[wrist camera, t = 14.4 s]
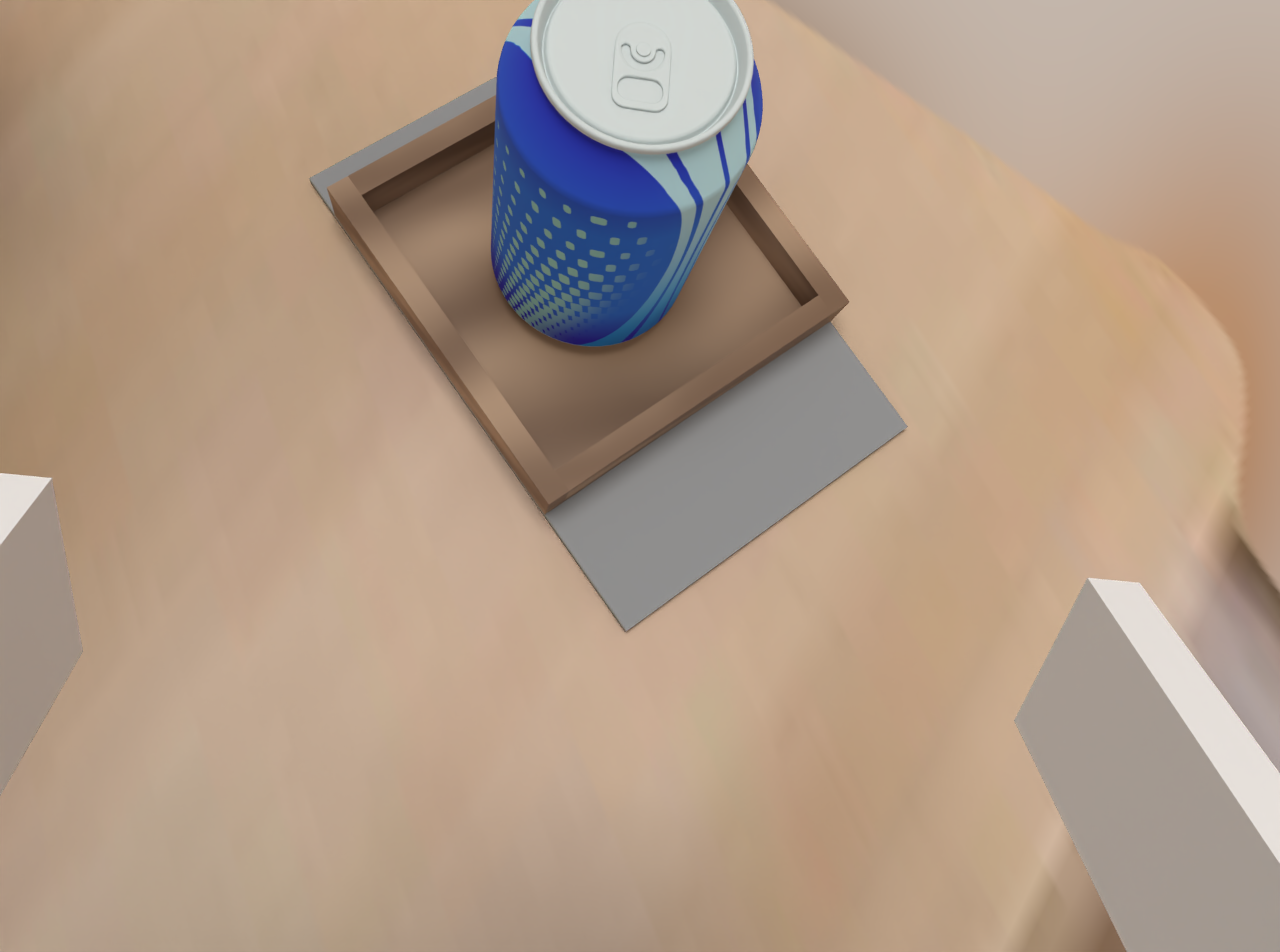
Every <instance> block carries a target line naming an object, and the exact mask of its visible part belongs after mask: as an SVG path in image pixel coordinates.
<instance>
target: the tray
mask: <svg viewBox="0 0 1280 952" xmlns="http://www.w3.org/2000/svg"><path fill="white" fill-rule="evenodd" d="M495 110H496V95H495V96H493V97H491V98H489V99H487V100H486V101H484V102H482V103H480V104H478V105H476V106H475V107H473V108H471V109H469V110H467V111H465V112H464V113H462V114H460V115H458V116H456V117H454V118H453V119H451V120H449V121H447V122H445V123H444V124H442V125H440V126H438V127H436V128H434V129H433V130H431V131H429V132H427V133H425V134H423V135H422V136H420V137H418V138H416V139H414V140H413V141H411V142H409V143H407V144H405V145H403V146H402V147H400V148H398V149H396V150H394V151H392V152H391V153H389V154H387V155H385V156H383V157H381V158H380V159H378V160H376V161H374V162H372V163H371V164H369V165H367V166H365V167H363V168H361V169H360V170H358V171H356V172H354V173H352V174H350V175H349V176H347V177H345V178H343V179H341V180H340V181H338V182H336V183H334V184H332V185H330V186H329V187H327V190H328V194H329V197H330V200H331V204H332V207H333V210H334V213H335V216H336V217H337V218H338V220H339V221H340V223H341V224H342V226H343V227H344V228H345V230H346V231H347V233H348V234H349V236H350V237H351V238H352V240H353V241H354V243H355V244H356V246H357V247H358V248H359V250H360V251H361V253H362V254H363V256H364V257H365V258H366V260H367V261H368V263H369V264H370V266H371V267H372V268H373V270H374V271H375V273H376V274H377V276H378V277H379V278H380V280H381V281H382V283H383V284H384V286H385V287H386V288H387V290H388V291H389V293H390V294H391V296H392V297H393V298H394V300H395V301H396V303H397V304H398V306H399V307H400V308H401V310H402V311H403V313H404V314H405V316H406V317H407V318H408V320H409V321H410V323H411V324H412V326H413V327H414V328H415V330H416V331H417V333H418V334H419V336H420V337H421V338H422V340H423V341H424V343H425V344H426V346H427V347H428V348H429V350H430V351H431V353H432V354H433V356H434V357H435V358H436V360H437V361H438V363H439V364H440V366H441V367H442V368H443V370H444V371H445V373H446V374H447V376H448V377H449V378H450V380H451V381H452V383H453V384H454V386H455V387H456V388H457V390H458V391H459V393H460V394H461V396H462V397H463V398H464V400H465V401H466V403H467V404H468V406H469V407H470V408H471V410H472V411H473V413H474V414H475V416H476V417H477V418H478V420H479V421H480V423H481V424H482V426H483V427H484V428H485V430H486V431H487V433H488V434H489V436H490V437H491V438H492V440H493V441H494V443H495V444H496V446H497V447H498V448H499V450H500V451H501V453H502V454H503V456H504V457H505V458H506V460H507V461H508V463H509V464H510V466H511V467H512V468H513V470H514V471H515V473H516V474H517V476H518V477H519V478H520V480H521V481H522V483H523V484H524V486H525V487H526V488H527V490H528V491H529V493H530V494H531V496H532V497H533V498H534V500H535V501H536V503H537V504H538V506H539V507H540V508H541V510H542V511H543V513H544V514H546V513H548V512H549V511H551V510H552V509H554V508H555V507H557V506H558V505H560V504H561V503H563V502H564V501H566V500H567V499H569V498H570V497H572V496H573V495H574V494H576V493H577V492H579V491H580V490H582V489H583V488H585V487H586V486H588V485H589V484H591V483H592V482H594V481H595V480H597V479H598V478H600V477H601V476H603V475H604V474H606V473H607V472H608V471H610V470H611V469H613V468H614V467H616V466H617V465H619V464H620V463H622V462H623V461H625V460H626V459H628V458H629V457H631V456H632V455H634V454H635V453H637V452H638V451H640V450H641V449H642V448H644V447H645V446H647V445H648V444H650V443H651V442H653V441H654V440H656V439H657V438H659V437H660V436H662V435H663V434H665V433H666V432H668V431H669V430H671V429H672V428H674V427H675V426H676V425H678V424H679V423H681V422H682V421H684V420H685V419H687V418H688V417H690V416H691V415H693V414H694V413H696V412H697V411H699V410H700V409H702V408H703V407H705V406H706V405H708V404H709V403H710V402H712V401H713V400H715V399H716V398H718V397H719V396H721V395H722V394H724V393H725V392H727V391H728V390H730V389H731V388H733V387H734V386H736V385H737V384H739V383H740V382H742V381H743V380H744V379H746V378H747V377H749V376H750V375H752V374H753V373H755V372H756V371H758V370H759V369H761V368H762V367H764V366H765V365H767V364H768V363H770V362H771V361H773V360H774V359H776V358H777V357H778V356H780V355H781V354H783V353H784V352H786V351H787V350H789V349H790V348H792V347H793V346H795V345H796V344H798V343H799V342H801V341H802V340H804V339H805V338H807V337H808V336H810V335H811V334H812V333H814V332H815V331H817V330H818V329H820V328H821V327H823V326H824V325H826V324H827V323H829V322H830V321H831V320H832V319H833V318H834V317H835V316H836V315H837V314H838V313H839V312H840V311H841V310H842V309H843V308H844V307H845V306H846V305H847V304H848V303H849V301H848V299H847V298H846V297H845V295H844V294H843V292H842V291H841V290H840V288H839V287H838V286H837V284H836V283H835V282H834V280H833V279H832V278H831V276H830V275H829V274H828V272H827V271H826V270H825V268H824V267H823V265H822V264H821V263H820V261H819V260H818V259H817V257H816V256H815V255H814V253H813V252H812V251H811V249H810V248H809V247H808V245H807V244H806V242H805V241H804V240H803V238H802V237H801V236H800V234H799V233H798V232H797V230H796V229H795V228H794V226H793V225H792V224H791V222H790V221H789V220H788V218H787V217H786V215H785V214H784V213H783V211H782V210H781V209H780V207H779V206H778V205H777V203H776V202H775V201H774V199H773V198H772V197H771V195H770V194H769V192H768V191H767V190H766V188H765V187H764V186H763V184H762V183H761V182H760V180H759V179H758V178H757V176H756V175H755V174H754V172H753V171H752V170H751V168H750V167H749V165H748V164H747V165H746V166H745V168H744V170H743V172H742V174H741V176H740V178H739V180H738V182H737V184H736V186H735V188H734V189H733V191H732V193H731V195H730V197H729V199H728V201H727V203H726V205H725V207H724V209H723V211H722V212H721V214H720V216H719V218H718V220H717V222H716V224H715V226H714V228H713V230H712V232H711V234H710V235H709V237H708V239H707V241H706V243H705V245H704V247H703V249H702V251H701V253H700V255H699V256H698V258H697V260H696V262H695V264H694V266H693V268H692V270H691V272H690V274H689V276H688V278H687V279H686V281H685V283H684V285H683V287H682V289H681V291H680V293H679V295H678V297H677V299H676V300H675V302H674V304H673V305H672V307H671V308H670V310H669V311H668V312H667V314H666V315H665V316H664V317H663V318H662V319H661V320H660V321H659V322H658V323H657V324H656V325H655V326H653V327H652V328H651V329H649V330H648V331H646V332H645V333H643V334H641V335H639V336H638V337H635V338H633V339H631V340H629V341H625V342H622V343H619V344H615V345H609V346H601V347H588V346H578V345H572V344H568V343H565V342H561V341H559V340H556V339H553V338H551V337H549V336H547V335H545V334H543V333H541V332H540V331H538V330H536V329H535V328H533V327H532V326H531V325H529V324H528V323H527V322H526V321H524V320H523V319H522V318H521V317H520V316H519V315H518V314H517V313H516V312H515V311H514V309H513V308H512V307H511V306H510V304H509V303H508V301H507V300H506V298H505V297H504V295H503V293H502V291H501V289H500V287H499V285H498V283H497V280H496V277H495V274H494V270H493V266H492V260H491V228H492V198H493V169H494V139H495Z"/></svg>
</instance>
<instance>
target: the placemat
mask: <svg viewBox="0 0 1280 952" xmlns="http://www.w3.org/2000/svg"><path fill="white" fill-rule="evenodd" d="M496 83H497V77H495V78H493V79H491V80H489V81H488V82H486V83H484V84H482V85H480V86H478V87H477V88H475V89H473V90H471V91H469V92H467V93H465V94H464V95H462V96H460V97H458V98H456V99H454V100H453V101H451V102H449V103H447V104H445V105H443V106H442V107H440V108H438V109H436V110H434V111H432V112H430V113H429V114H427V115H425V116H423V117H421V118H419V119H418V120H416V121H414V122H412V123H410V124H408V125H407V126H405V127H403V128H401V129H399V130H397V131H395V132H394V133H392V134H390V135H388V136H386V137H384V138H383V139H381V140H379V141H377V142H375V143H373V144H372V145H370V146H368V147H366V148H364V149H362V150H360V151H359V152H357V153H355V154H353V155H351V156H349V157H348V158H346V159H344V160H342V161H340V162H338V163H337V164H335V165H333V166H331V167H329V168H327V169H325V170H324V171H322V172H320V173H318V174H316V175H314V176H313V177H311V178H309V179H310V182H311V184H312V185H313V186H314V188H315V189H316V191H317V192H318V194H319V195H320V196H321V198H322V199H323V201H324V202H325V204H326V205H327V206H328V208H329V209H330V211H331V212H332V214H333V215H334V216H335V213H334V210H333V207H332V204H331V200H330V197H329V194H328V190H327V187H329V186H330V185H332V184H334V183H336V182H338V181H340V180H341V179H343V178H345V177H347V176H349V175H350V174H352V173H354V172H356V171H358V170H360V169H361V168H363V167H365V166H367V165H369V164H371V163H372V162H374V161H376V160H378V159H380V158H381V157H383V156H385V155H387V154H389V153H391V152H392V151H394V150H396V149H398V148H400V147H402V146H403V145H405V144H407V143H409V142H411V141H413V140H414V139H416V138H418V137H420V136H422V135H423V134H425V133H427V132H429V131H431V130H433V129H434V128H436V127H438V126H440V125H442V124H444V123H445V122H447V121H449V120H451V119H453V118H454V117H456V116H458V115H460V114H462V113H464V112H465V111H467V110H469V109H471V108H473V107H475V106H476V105H478V104H480V103H482V102H484V101H486V100H487V99H489V98H491V97H493V96H495V95H496ZM335 218H336V219H337V221H338V222H339V224H340V225H341V226H342V224H341V223H340V221H339V220H338V218H337V217H336V216H335ZM342 228H343V229H344V231H345V232H346V234H347V235H348V236H349V234H348V233H347V231H346V230H345V228H344V227H343V226H342ZM349 238H350V239H351V241H352V242H353V244H354V245H355V246H356V244H355V243H354V241H353V240H352V238H351V237H350V236H349ZM356 248H357V249H358V251H359V252H360V254H361V255H362V256H363V254H362V253H361V251H360V250H359V248H358V247H357V246H356ZM363 258H364V259H365V261H366V262H367V264H368V265H369V266H370V264H369V263H368V261H367V260H366V258H365V257H364V256H363ZM370 268H371V269H372V271H373V272H374V274H375V275H376V276H377V274H376V273H375V271H374V270H373V268H372V267H371V266H370ZM377 278H378V279H379V281H380V282H381V284H382V285H383V286H384V284H383V283H382V281H381V280H380V278H379V277H378V276H377ZM384 288H385V289H386V291H387V292H388V294H389V295H390V296H391V294H390V293H389V291H388V290H387V288H386V287H385V286H384ZM391 298H392V299H393V301H394V302H395V304H396V305H397V306H398V304H397V303H396V301H395V300H394V298H393V297H392V296H391ZM398 308H399V309H400V311H401V312H402V314H403V315H404V316H405V314H404V313H403V311H402V310H401V308H400V307H399V306H398ZM405 318H406V319H407V321H408V322H409V324H410V325H411V326H412V324H411V323H410V321H409V320H408V318H407V317H406V316H405ZM412 328H413V329H414V331H415V332H416V334H417V335H418V336H419V334H418V333H417V331H416V330H415V328H414V327H413V326H412ZM419 338H420V339H421V341H422V342H423V344H424V345H425V346H426V344H425V343H424V341H423V340H422V338H421V337H420V336H419ZM426 348H427V349H428V351H429V352H430V354H431V355H432V356H433V354H432V353H431V351H430V350H429V348H428V347H427V346H426ZM433 358H434V359H435V361H436V362H437V364H438V365H439V366H440V364H439V363H438V361H437V360H436V358H435V357H434V356H433ZM440 368H441V369H442V371H443V372H444V374H445V375H446V376H447V374H446V373H445V371H444V370H443V368H442V367H441V366H440ZM447 378H448V379H449V381H450V382H451V384H452V385H453V386H454V384H453V383H452V381H451V380H450V378H449V377H448V376H447ZM454 388H455V389H456V391H457V392H458V394H459V395H460V396H461V394H460V393H459V391H458V390H457V388H456V387H455V386H454ZM461 398H462V399H463V401H464V402H465V404H466V405H467V406H468V404H467V403H466V401H465V400H464V398H463V397H462V396H461ZM468 408H469V409H470V411H471V412H472V414H473V415H474V416H475V414H474V413H473V411H472V410H471V408H470V407H469V406H468ZM475 418H476V419H477V421H478V422H479V424H480V425H481V427H482V428H483V429H484V431H485V432H486V434H487V435H488V437H489V438H490V439H491V441H492V442H493V444H494V445H495V447H496V448H497V449H498V451H499V452H500V454H501V455H502V457H503V458H504V459H505V461H506V462H507V464H508V465H509V467H510V468H511V469H512V471H513V472H514V474H515V475H516V477H517V478H518V479H519V481H520V482H521V484H522V485H523V487H524V488H525V489H526V491H527V492H528V494H529V495H530V497H531V498H532V499H533V501H534V502H535V504H536V505H537V507H538V508H539V509H540V511H541V512H542V514H543V515H544V517H545V518H546V519H547V521H548V522H549V524H550V525H551V527H552V528H553V529H554V531H555V532H556V534H557V535H558V537H559V538H560V539H561V541H562V542H563V544H564V545H565V547H566V548H567V549H568V551H569V552H570V554H571V555H572V557H573V558H574V559H575V561H576V562H577V564H578V565H579V567H580V568H581V569H582V571H583V572H584V574H585V575H586V577H587V578H588V579H589V581H590V582H591V584H592V585H593V587H594V588H595V589H596V591H597V592H598V594H599V595H600V597H601V598H602V599H603V601H604V602H605V604H606V605H607V607H608V608H609V609H610V611H611V612H612V614H613V615H614V617H615V618H616V619H617V621H618V622H619V624H620V625H621V627H622V628H623V629H624V631H625V632H626V631H627V630H629V629H630V628H632V627H633V626H634V625H636V624H637V623H638V622H640V621H641V620H643V619H644V618H645V617H647V616H648V615H649V614H651V613H652V612H654V611H655V610H656V609H658V608H659V607H660V606H662V605H663V604H665V603H666V602H667V601H669V600H670V599H671V598H673V597H674V596H676V595H677V594H678V593H680V592H681V591H682V590H684V589H685V588H687V587H688V586H689V585H691V584H692V583H693V582H695V581H696V580H698V579H699V578H700V577H702V576H703V575H704V574H706V573H707V572H709V571H710V570H711V569H713V568H714V567H715V566H717V565H718V564H720V563H721V562H722V561H724V560H725V559H726V558H728V557H729V556H731V555H732V554H733V553H735V552H736V551H737V550H739V549H740V548H742V547H743V546H744V545H746V544H747V543H748V542H750V541H751V540H753V539H754V538H755V537H757V536H758V535H759V534H761V533H762V532H764V531H765V530H766V529H768V528H769V527H770V526H772V525H773V524H775V523H776V522H777V521H779V520H780V519H781V518H783V517H784V516H786V515H787V514H788V513H790V512H791V511H792V510H794V509H795V508H797V507H798V506H799V505H801V504H802V503H803V502H805V501H806V500H808V499H809V498H810V497H812V496H813V495H814V494H816V493H817V492H819V491H820V490H821V489H823V488H824V487H825V486H827V485H828V484H830V483H831V482H832V481H834V480H835V479H836V478H838V477H839V476H841V475H842V474H843V473H845V472H846V471H847V470H849V469H850V468H852V467H853V466H854V465H856V464H857V463H858V462H860V461H861V460H863V459H864V458H865V457H867V456H868V455H869V454H871V453H872V452H874V451H875V450H876V449H878V448H879V447H880V446H882V445H883V444H885V443H886V442H887V441H889V440H890V439H891V438H893V437H894V436H896V435H897V434H898V433H900V432H901V431H903V430H904V429H905V428H907V427H908V426H907V425H906V424H905V422H904V421H903V420H902V418H901V417H900V416H899V414H898V413H897V412H896V410H895V409H894V407H893V406H892V405H891V403H890V402H889V401H888V399H887V398H886V397H885V395H884V394H883V393H882V391H881V390H880V388H879V387H878V386H877V384H876V383H875V382H874V380H873V379H872V378H871V376H870V375H869V374H868V372H867V371H866V369H865V368H864V367H863V365H862V364H861V363H860V361H859V360H858V359H857V357H856V356H855V355H854V353H853V352H852V350H851V349H850V348H849V346H848V345H847V344H846V342H845V341H844V340H843V338H842V337H841V336H840V334H839V333H838V331H837V330H836V329H835V327H834V326H833V325H832V323H831V322H829V323H827V324H826V325H824V326H823V327H821V328H820V329H818V330H817V331H815V332H814V333H812V334H811V335H810V336H808V337H807V338H805V339H804V340H802V341H801V342H799V343H798V344H796V345H795V346H793V347H792V348H790V349H789V350H787V351H786V352H784V353H783V354H781V355H780V356H778V357H777V358H776V359H774V360H773V361H771V362H770V363H768V364H767V365H765V366H764V367H762V368H761V369H759V370H758V371H756V372H755V373H753V374H752V375H750V376H749V377H747V378H746V379H744V380H743V381H742V382H740V383H739V384H737V385H736V386H734V387H733V388H731V389H730V390H728V391H727V392H725V393H724V394H722V395H721V396H719V397H718V398H716V399H715V400H713V401H712V402H710V403H709V404H708V405H706V406H705V407H703V408H702V409H700V410H699V411H697V412H696V413H694V414H693V415H691V416H690V417H688V418H687V419H685V420H684V421H682V422H681V423H679V424H678V425H676V426H675V427H674V428H672V429H671V430H669V431H668V432H666V433H665V434H663V435H662V436H660V437H659V438H657V439H656V440H654V441H653V442H651V443H650V444H648V445H647V446H645V447H644V448H642V449H641V450H640V451H638V452H637V453H635V454H634V455H632V456H631V457H629V458H628V459H626V460H625V461H623V462H622V463H620V464H619V465H617V466H616V467H614V468H613V469H611V470H610V471H608V472H607V473H606V474H604V475H603V476H601V477H600V478H598V479H597V480H595V481H594V482H592V483H591V484H589V485H588V486H586V487H585V488H583V489H582V490H580V491H579V492H577V493H576V494H574V495H573V496H572V497H570V498H569V499H567V500H566V501H564V502H563V503H561V504H560V505H558V506H557V507H555V508H554V509H552V510H551V511H549V512H548V513H546V514H544V513H543V511H542V510H541V508H540V507H539V506H538V504H537V503H536V501H535V500H534V498H533V497H532V496H531V494H530V493H529V491H528V490H527V488H526V487H525V486H524V484H523V483H522V481H521V480H520V478H519V477H518V476H517V474H516V473H515V471H514V470H513V468H512V467H511V466H510V464H509V463H508V461H507V460H506V458H505V457H504V456H503V454H502V453H501V451H500V450H499V448H498V447H497V446H496V444H495V443H494V441H493V440H492V438H491V437H490V436H489V434H488V433H487V431H486V430H485V428H484V427H483V426H482V424H481V423H480V421H479V420H478V418H477V417H476V416H475Z"/></svg>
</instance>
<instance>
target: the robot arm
mask: <svg viewBox="0 0 1280 952" xmlns="http://www.w3.org/2000/svg"><path fill="white" fill-rule="evenodd" d="M82 652H83V648H82V643H81V637H80V632H79V626H78V621H77V615H76V609H75V604H74V598H73V593H72V587H71V582H70V576H69V571H68V565H67V560H66V554H65V548H64V543H63V537H62V532H61V526H60V521H59V515H58V510H57V504H56V499H55V493H54V487H53V482H52V478H46V477H35V476H25V475H15V474H4V473H0V795H1V794H2V792H3V790H4V788H5V787H6V785H7V783H8V781H9V780H10V778H11V776H12V774H13V773H14V771H15V769H16V767H17V766H18V764H19V762H20V760H21V759H22V757H23V755H24V753H25V752H26V750H27V748H28V746H29V745H30V743H31V741H32V740H33V738H34V736H35V734H36V733H37V731H38V729H39V727H40V726H41V724H42V722H43V720H44V719H45V717H46V715H47V713H48V712H49V710H50V708H51V706H52V705H53V703H54V701H55V699H56V698H57V696H58V694H59V692H60V691H61V689H62V687H63V685H64V684H65V682H66V680H67V678H68V677H69V675H70V673H71V671H72V670H73V668H74V666H75V664H76V663H77V661H78V659H79V657H80V656H81V654H82ZM1014 721H1015V724H1016V726H1017V728H1018V730H1019V732H1020V734H1021V736H1022V738H1023V740H1024V742H1025V744H1026V746H1027V748H1028V750H1029V752H1030V754H1031V756H1032V758H1033V760H1034V762H1035V765H1036V767H1037V769H1038V771H1039V773H1040V775H1041V777H1042V779H1043V781H1044V783H1045V785H1046V787H1047V789H1048V791H1049V793H1050V795H1051V797H1052V799H1053V801H1054V804H1055V806H1056V808H1057V810H1058V812H1059V814H1060V816H1061V818H1062V820H1063V822H1064V824H1065V826H1066V828H1067V830H1068V832H1069V834H1070V836H1071V838H1072V840H1073V842H1074V845H1075V847H1076V849H1077V851H1078V853H1079V855H1080V857H1081V859H1082V861H1083V863H1084V865H1085V867H1086V869H1087V871H1088V873H1089V875H1090V877H1091V879H1092V881H1093V884H1094V886H1095V888H1096V890H1097V892H1098V894H1099V896H1100V898H1101V900H1102V902H1103V904H1104V906H1105V908H1106V910H1107V912H1108V914H1109V916H1110V918H1111V920H1112V922H1113V925H1114V927H1115V929H1116V931H1117V933H1118V935H1119V937H1120V939H1121V941H1122V943H1123V945H1124V947H1125V949H1126V951H1127V952H1280V773H1279V772H1278V770H1277V769H1276V768H1275V766H1274V765H1273V764H1272V762H1271V761H1270V760H1269V758H1268V757H1267V756H1266V754H1265V753H1264V751H1263V750H1262V749H1261V747H1260V746H1259V745H1258V743H1257V742H1256V741H1255V739H1254V738H1253V736H1252V735H1251V734H1250V732H1249V731H1248V730H1247V728H1246V727H1245V726H1244V724H1243V723H1242V722H1241V720H1240V719H1239V717H1238V716H1237V715H1236V713H1235V712H1234V711H1233V709H1232V708H1231V707H1230V705H1229V704H1228V702H1227V701H1226V700H1225V698H1224V697H1223V696H1222V694H1221V693H1220V692H1219V690H1218V689H1217V688H1216V686H1215V685H1214V683H1213V682H1212V681H1211V679H1210V678H1209V677H1208V675H1207V674H1206V673H1205V671H1204V670H1203V668H1202V667H1201V666H1200V664H1199V663H1198V662H1197V660H1196V659H1195V658H1194V656H1193V655H1192V654H1191V652H1190V651H1189V649H1188V648H1187V647H1186V645H1185V644H1184V643H1183V641H1182V640H1181V639H1180V637H1179V636H1178V634H1177V633H1176V632H1175V630H1174V629H1173V628H1172V626H1171V625H1170V624H1169V622H1168V621H1167V620H1166V618H1165V617H1164V615H1163V614H1162V613H1161V611H1160V610H1159V609H1158V607H1157V606H1156V605H1155V603H1154V602H1153V600H1152V599H1151V598H1150V596H1149V595H1148V594H1147V592H1146V591H1145V590H1144V588H1143V587H1142V586H1141V584H1140V583H1136V582H1126V581H1116V580H1105V579H1095V578H1087V580H1086V582H1085V584H1084V586H1083V587H1082V589H1081V591H1080V593H1079V595H1078V597H1077V599H1076V601H1075V603H1074V605H1073V607H1072V609H1071V611H1070V613H1069V615H1068V617H1067V619H1066V621H1065V622H1064V624H1063V626H1062V628H1061V630H1060V632H1059V634H1058V636H1057V638H1056V640H1055V642H1054V644H1053V646H1052V648H1051V650H1050V652H1049V654H1048V656H1047V657H1046V659H1045V661H1044V663H1043V665H1042V667H1041V669H1040V671H1039V673H1038V675H1037V677H1036V679H1035V681H1034V683H1033V685H1032V687H1031V689H1030V691H1029V693H1028V694H1027V696H1026V698H1025V700H1024V702H1023V704H1022V706H1021V708H1020V710H1019V712H1018V714H1017V716H1016V718H1015V720H1014Z"/></svg>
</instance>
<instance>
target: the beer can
mask: <svg viewBox="0 0 1280 952" xmlns="http://www.w3.org/2000/svg"><path fill="white" fill-rule="evenodd" d="M762 111H763V99H762V90H761V83H760V78H759V73H758V70H757V67H756V64H755V61H754V55H753V46H752V41H751V36H750V33H749V29H748V26H747V24H746V21H745V19H744V17H743V15H742V13H741V11H740V9H739V8H738V6H737V4H736V3H735V1H734V0H534V1H533V2H532V3H531V4H530V5H529V6H528V7H527V8H526V9H525V11H524V12H523V13H522V14H521V15H520V17H519V18H518V20H517V21H516V22H515V24H514V25H513V27H512V29H511V31H510V32H509V34H508V36H507V39H506V41H505V43H504V46H503V49H502V52H501V56H500V60H499V65H498V71H497V83H496V110H495V139H494V169H493V198H492V228H491V260H492V266H493V270H494V274H495V277H496V280H497V283H498V285H499V287H500V289H501V291H502V293H503V295H504V297H505V298H506V300H507V301H508V303H509V304H510V306H511V307H512V308H513V309H514V311H515V312H516V313H517V314H518V315H519V316H520V317H521V318H522V319H523V320H524V321H526V322H527V323H528V324H529V325H531V326H532V327H533V328H535V329H536V330H538V331H540V332H541V333H543V334H545V335H547V336H549V337H551V338H553V339H556V340H559V341H561V342H565V343H568V344H572V345H578V346H588V347H601V346H609V345H615V344H619V343H622V342H625V341H629V340H631V339H633V338H635V337H638V336H639V335H641V334H643V333H645V332H646V331H648V330H649V329H651V328H652V327H653V326H655V325H656V324H657V323H658V322H659V321H660V320H661V319H662V318H663V317H664V316H665V315H666V314H667V312H668V311H669V310H670V308H671V307H672V305H673V304H674V302H675V300H676V299H677V297H678V295H679V293H680V291H681V289H682V287H683V285H684V283H685V281H686V279H687V278H688V276H689V274H690V272H691V270H692V268H693V266H694V264H695V262H696V260H697V258H698V256H699V255H700V253H701V251H702V249H703V247H704V245H705V243H706V241H707V239H708V237H709V235H710V234H711V232H712V230H713V228H714V226H715V224H716V222H717V220H718V218H719V216H720V214H721V212H722V211H723V209H724V207H725V205H726V203H727V201H728V199H729V197H730V195H731V193H732V191H733V189H734V188H735V186H736V184H737V182H738V180H739V178H740V176H741V174H742V172H743V170H744V168H745V166H746V165H747V163H748V161H749V159H750V157H751V154H752V152H753V150H754V148H755V145H756V142H757V139H758V135H759V131H760V127H761V121H762Z"/></svg>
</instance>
